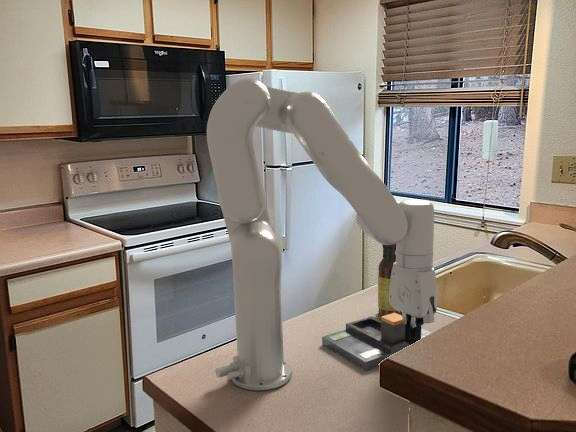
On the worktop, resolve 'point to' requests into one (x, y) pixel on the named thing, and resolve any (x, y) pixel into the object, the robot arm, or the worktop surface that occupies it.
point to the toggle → (392, 328)
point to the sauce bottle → (386, 280)
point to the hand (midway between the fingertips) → (412, 341)
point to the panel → (364, 343)
